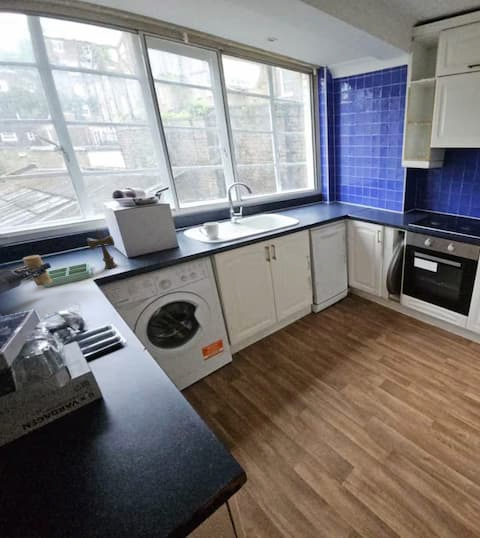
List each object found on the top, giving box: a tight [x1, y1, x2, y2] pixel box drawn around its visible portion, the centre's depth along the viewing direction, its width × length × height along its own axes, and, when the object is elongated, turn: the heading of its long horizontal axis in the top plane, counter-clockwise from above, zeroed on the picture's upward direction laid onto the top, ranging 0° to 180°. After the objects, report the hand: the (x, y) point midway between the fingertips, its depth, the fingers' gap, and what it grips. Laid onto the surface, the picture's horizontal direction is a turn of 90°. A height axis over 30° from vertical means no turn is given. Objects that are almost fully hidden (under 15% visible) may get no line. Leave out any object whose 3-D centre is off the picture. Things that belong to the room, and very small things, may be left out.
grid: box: [44, 262, 92, 288], centre depth 140 cm, size 15×15×3 cm
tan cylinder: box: [22, 254, 52, 287], centre depth 121 cm, size 5×5×12 cm
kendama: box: [86, 229, 118, 269], centre depth 147 cm, size 6×10×20 cm, turn 127°
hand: (42, 265), depth 123 cm, fingers closed on tan cylinder, 4 cm apart
